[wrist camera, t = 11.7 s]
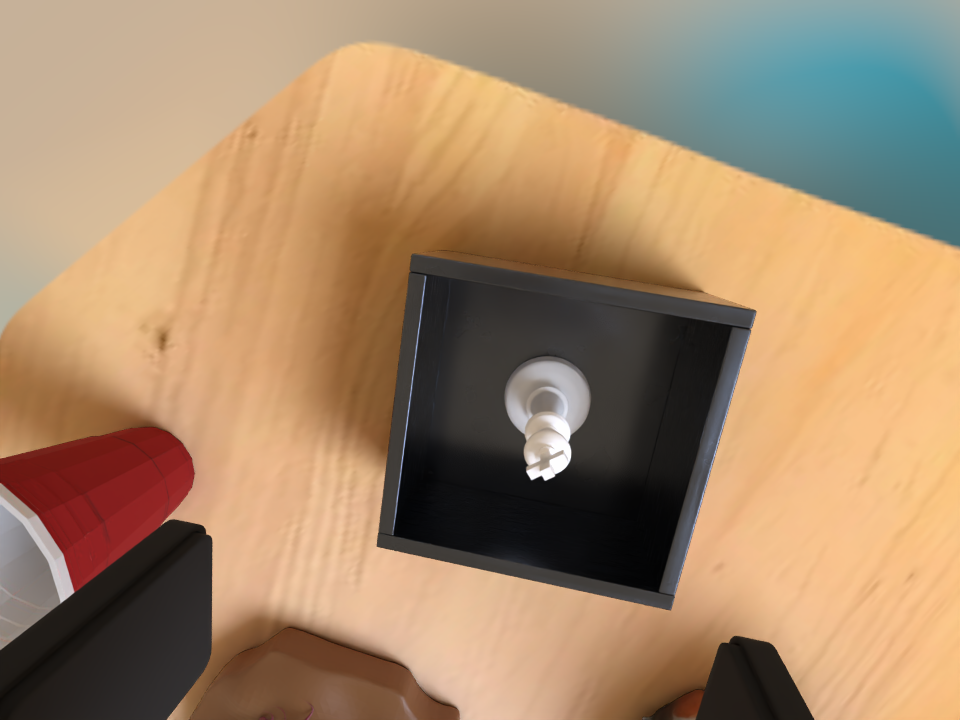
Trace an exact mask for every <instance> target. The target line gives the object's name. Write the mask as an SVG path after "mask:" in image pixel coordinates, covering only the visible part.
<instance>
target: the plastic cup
mask: <svg viewBox="0 0 960 720" xmlns="http://www.w3.org/2000/svg"><path fill="white" fill-rule="evenodd" d="M194 474H195V473H194V468H193V463H192V458H191V457H190V455H189V453H188V452H187V450H186V448H185V447H184V445H183V444H182V443H181V442H180V441H179V440H177V439H176V438H175V437H174V436H173V435H171V434H170V433H168V432H166V431H163V430H160V429H158V428H155V427H141V428H129V429H125V430H121V431H117V432H114V433H110V434H106V435H102V436H92V437H87V438H83V439H79V440H75V441H71V442H67V443H63V444H59V445H55V446H51V447H46V448H42V449H38V450H34V451H30V452H26V453H22V454H18V455H14V456H10V457H5V458H1V459H0V650H1V649H2V648H4V647H5V646H6V645H7V644H9V643H10V642H11V641H13V640H14V639H15V638H16V637H18V636H19V635H20V634H22V633H23V632H24V631H26V630H27V629H28V628H29V627H31V626H32V625H33V624H35V623H36V622H37V621H38V620H40V619H41V618H42V617H44V616H45V615H46V614H48V613H49V612H50V611H51V610H53V609H54V608H55V607H57V606H58V605H59V604H60V603H62V602H63V601H64V600H66V599H67V598H68V597H69V596H71V595H72V594H73V593H75V592H76V591H77V590H79V589H80V588H81V587H82V586H84V585H85V584H86V583H88V582H89V581H90V580H91V579H93V578H94V577H95V576H97V575H98V574H99V573H101V572H102V571H103V570H104V569H106V568H107V567H108V566H110V565H111V564H112V563H113V562H115V561H116V560H117V559H119V558H120V557H121V556H123V555H124V554H125V553H126V552H128V551H129V550H130V549H132V548H133V547H134V546H135V545H137V544H138V543H139V542H141V541H142V540H143V539H144V538H146V537H147V536H148V535H150V534H151V533H152V532H154V531H155V530H156V529H157V528H159V527H160V526H161V524H162V523H163V522H164V520H165V519H166V518H167V517H168V516H169V515H170V514H171V513H172V512H173V511H174V510H175V509H176V508H177V507H178V506H179V505H180V503H181V502H182V501H183V499H184V498H185V497H186V496H187V494H188V492H189V491H190V489H191V488H192V484H193V479H194Z"/></svg>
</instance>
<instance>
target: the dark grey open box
mask: <svg viewBox="0 0 960 720" xmlns="http://www.w3.org/2000/svg"><path fill="white" fill-rule="evenodd" d="M410 271H411V272H410V273H409V279H408V288H407V296H406V304H405V313H404V321H403V330H402V338H401V346H400V355H399V363H398V372H397V380H396V388H395V397H394V405H393V414H392V422H391V430H390V439H389V447H388V456H387V464H386V472H385V481H384V489H383V498H382V506H381V514H380V523H379V533H378V538H377V547H380V548H385V549H390V550H394V551H399V552H403V553H408V554H413V555H417V556H422V557H426V558H431V559H436V560H440V561H445V562H450V563H454V564H459V565H463V566H468V567H473V568H477V569H482V570H486V571H491V572H496V573H500V574H505V575H509V576H514V577H519V578H523V579H528V580H533V581H537V582H542V583H546V584H551V585H556V586H560V587H565V588H569V589H574V590H579V591H583V592H588V593H593V594H597V595H602V596H606V597H611V598H616V599H620V600H625V601H629V602H634V603H639V604H643V605H648V606H652V607H657V608H662V609H666V610H671V608H672V605H673V601H674V598H675V596H674V595H675V593H676V590H677V586H678V583H679V579H680V576H681V573H682V569H683V566H684V562H685V559H686V555H687V552H688V548H689V545H690V541H691V538H692V534H693V531H694V527H695V524H696V521H697V517H698V514H699V510H700V507H701V503H702V500H703V496H704V493H705V489H706V486H707V482H708V479H709V475H710V472H711V469H712V465H713V462H714V458H715V455H716V451H717V448H718V444H719V441H720V437H721V434H722V430H723V427H724V423H725V420H726V417H727V413H728V410H729V406H730V403H731V399H732V396H733V392H734V389H735V385H736V382H737V378H738V375H739V371H740V368H741V364H742V361H743V358H744V354H745V351H746V347H747V344H748V340H749V337H750V333H751V330H750V329H751V328H752V326H753V323H754V319H755V316H756V310H754V309H751V308H748V307H745V306H742V305H739V304H736V303H733V302H731V301H728V300H725V299H722V298H719V297H716V296H713V295H710V294H708V293H704V292H698V291H692V290H685V289H679V288H673V287H667V286H661V285H655V284H649V283H643V282H637V281H630V280H624V279H618V278H612V277H606V276H600V275H594V274H588V273H582V272H576V271H569V270H563V269H557V268H551V267H545V266H539V265H533V264H527V263H521V262H514V261H508V260H502V259H496V258H490V257H484V256H478V255H472V254H466V253H460V252H453V251H447V250H440V251H432V252H423V253H414V254H412V255H411V263H410ZM542 356H553V357H558V358H562V359H564V360H567V361H569V362H570V363H572V364H573V365H575V366H576V367H577V368H578V369H579V370H580V371H581V372H582V373H583V374H584V376H585V378H586V379H587V381H588V384H589V387H590V391H591V404H590V409H589V413H588V415H587V418H586V420H585V421H584V423H583V424H582V425H581V427H580V428H579V429H578V430H577V431H575V432H574V433H573V434H571V435H570V439H569V441H568V443H569V445H570V448H571V459H570V461H569V463H568V465H567V466H566V468H565V469H563V470H562V471H561V472H559V473H556V474H555V477H552V478H550V479H548V480H546V481H545V480H544V478H543V476H539V477H537V478H535V479H533V480H531V479H530V477H529V475H528V474H527V472H526V468H527V466H529V465H528V464H527V462H526V460H525V457H524V447H525V444H526V442H527V441H526V438H525V434H524V433H522V432H521V431H520V430H518V429H517V428H516V427H515V425H514V424H513V423H512V421H511V420H510V418H509V416H508V414H507V411H506V406H505V400H504V394H505V388H506V384H507V382H508V380H509V378H510V376H511V374H512V373H513V372H514V371H515V370H516V368H518V367H519V366H520V365H521V364H523V363H524V362H526V361H528V360H530V359H533V358H536V357H542Z"/></svg>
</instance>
